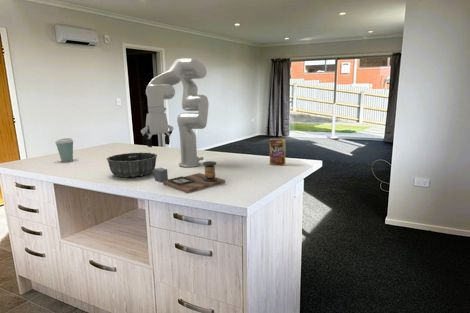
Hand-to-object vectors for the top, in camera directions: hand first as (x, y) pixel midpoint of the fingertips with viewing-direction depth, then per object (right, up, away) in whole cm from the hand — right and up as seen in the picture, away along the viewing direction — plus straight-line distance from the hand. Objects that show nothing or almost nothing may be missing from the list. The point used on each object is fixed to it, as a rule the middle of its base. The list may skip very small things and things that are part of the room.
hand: (158, 145), depth 159 cm
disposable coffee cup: (-75, -9, +57) cm, 95 cm away
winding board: (+18, -19, -3) cm, 26 cm away
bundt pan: (-18, -15, +19) cm, 30 cm away
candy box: (+63, -10, +33) cm, 72 cm away
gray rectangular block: (0, -18, +4) cm, 18 cm away
